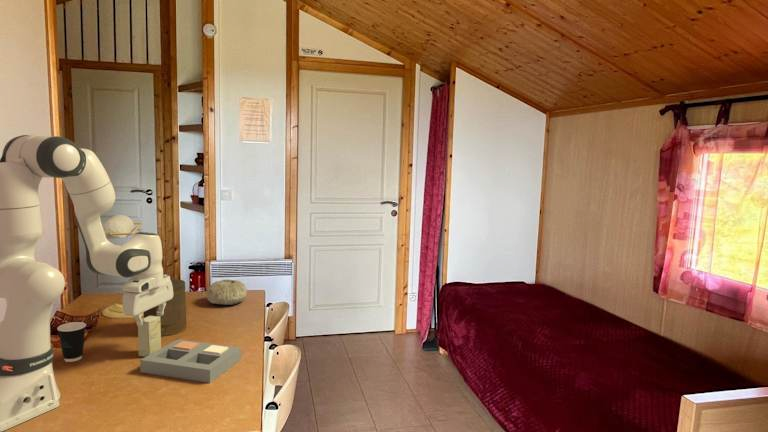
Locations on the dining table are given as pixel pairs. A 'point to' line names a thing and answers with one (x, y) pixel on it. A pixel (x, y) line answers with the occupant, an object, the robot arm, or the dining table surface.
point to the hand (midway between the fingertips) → (150, 320)
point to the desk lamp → (112, 230)
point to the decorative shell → (226, 292)
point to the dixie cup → (72, 340)
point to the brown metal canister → (172, 310)
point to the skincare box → (149, 336)
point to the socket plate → (191, 360)
